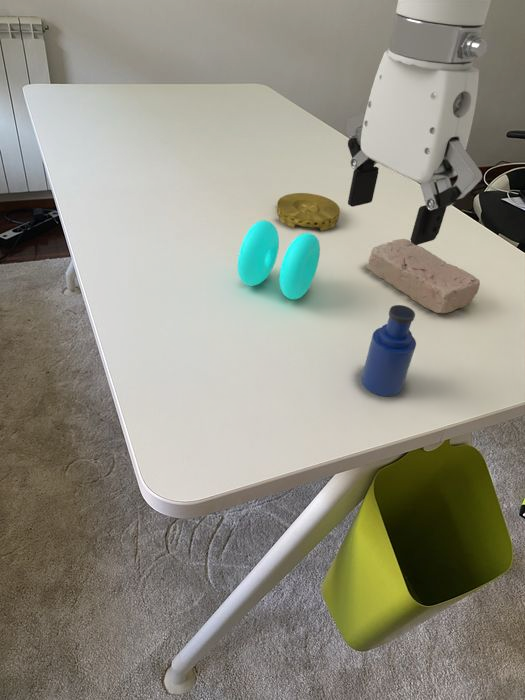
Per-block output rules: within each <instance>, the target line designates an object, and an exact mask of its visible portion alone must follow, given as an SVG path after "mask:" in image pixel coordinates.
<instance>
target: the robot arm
mask: <svg viewBox="0 0 525 700" xmlns="http://www.w3.org/2000/svg"><path fill="white" fill-rule="evenodd" d="M491 2H492V0H397V5H396V9H395V15H394V19H393V24H392V30H391V35H390V39H389V44H388V48H387V50H385V51H384V53H383V54H382V55H383V56H382V58H381V61H380V62H379V66H378V69H377V72H376V74H375V76H374V80H373V84H372V86H371V90H370V94H369V98H368V101H367V102H368V103H367V105H366V108H365V112H362V113H358V114H355V115H353V116H350V117H349V116H348V117H347V119H346V122H345V123H346V131H347V137H348V138H349V139H348V140H347V148H348V150H349V153H350V157H351V159H350V163H349V164H350V167H351V169H352V170H353V172H352V178H351V183H350V188H349V193H348V199H347V205H348V206H349V207H358V206H362V205H366V204H370V203H372V202H373V198H374V195H375V190H376V185H377V181H378V175H379V169H380V168H379V167H378V166H375V165H377V164H379V165H381V166H383V167H385V168H386V169H389V170H391V171H393V172H394V173H397V174H399V175H401V176H403V177H405V178H406V179H409V180H410V181H413V182H416V183H419V185H420V188H421V192H422V196H423V199H424V203H425V205H421V206H419V208H418V209H417V214H416V217H415V221H414V225H413V229H412V232H411V235H410V239H409V241H410V242H411V243H413V244H414V245H418V246H420V245H422V244H425V243H428V242H432V241H435V239H437V236H438V235H439V232H440V230H441V227H442V224H443V220H444V217H445V213H446V211H447V207H450V206H452V205H454V204H455V203H457V202H459V201H460V200H463V199H464V198H466V197H467V196H468V195H469V193H470V192H471V191H472V190H473V189H474V188H475V187H476V186H477V185H478V183H480V182H481V180H482V179H483V173H482V171H481V169H480V168H479V167H478V165H477V164H476V163H475V161H474V159H472V157H471V156H470V154H469V153H468V152H467V147H468V142H469V139H470V135H471V130H472V126H473V120H474V117H475V111H476V104H477V97H478V91H479V79H480V74H479V73H480V69H479V68H477V67H474V66H473V64H474V62H475V58H477V59H481V58H483V57H484V56H485V54H486V53H487V50H488V46H489V43H488V41H487V40H486V39H482V34H483V30H484V28H485V27H484V25H485V23H486V19H487V16H488V12H489V8H490V5H491ZM454 177H457V178H456V181H455V182H454V184H453V185H452V182H451V178H454ZM436 187H437V188H436ZM437 191H438V192H437Z"/></svg>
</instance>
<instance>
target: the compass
mask: <svg viewBox="0 0 525 700" xmlns="http://www.w3.org/2000/svg"><path fill="white" fill-rule="evenodd" d="M276 213H277V215H278V216H279V221H280V222H281V223H282V224H283V225H285V226H287V227H289V228H295V227H296V226H300V227H304V228H305V227H306V228H318V229H319V230H320V232H322V231H327V230H331V229H332V228H334V227H335V226H336V222H338V221H339V217H340V213H341V208H340V206H339V204H338V203H336V202H335V201H334V200H332V199H330V198H329V197H326V196H323V195H319V194H316V193H308V192H295V193H288V194H285V195H283V196H281V197H279V199H278V200H277V203H276Z"/></svg>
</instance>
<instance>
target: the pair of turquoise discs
mask: <svg viewBox="0 0 525 700" xmlns="http://www.w3.org/2000/svg"><path fill="white" fill-rule="evenodd" d="M279 248H280V237H279V232H278V230H277V228H276V226H275V224H273V223H272V222H271V221H269V220H259V221H256V222H255V223H254V224H252V225H251V226H250V228H248V231H246V234H245V236H244V237H243V240H242V243H241V245H240V248H239V252H238V257H237V272H238V276H239V278H240V281H241V282H242V283H244V285H246V286H251V287H254V286H258V285H260V284H262V283H263V282H264V281H266V279H268V277H269V276H270V274H271V272H273V271H272V270H273V269H274V266H275V264H276V262H277V258H278V254H279ZM320 254H321V245H320V241H319V239H318V237H317V236H316V235H315V234H313V233H311V232H304V233H301V234H299V235H297V236H296V237H295V238H294V239H293V240H292V241H291V242H290V244H289V245H288V247H287V249H286V251H285V253H284V256H283V258H282V262H281V265H280V270H279V286H280V287H279V288H280V290H281V292H282V294H283V295H284V296H285V297H286V298H287V299H290V300H299V299H300V298H302V297H303V296H304V295H306V293H307V292H308V291H309V289H310V286H311V285H312V283H313V281H314V278H315V276H316V273H317V269H318V266H319V261H320V256H321V255H320Z"/></svg>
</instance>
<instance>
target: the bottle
mask: <svg viewBox="0 0 525 700" xmlns="http://www.w3.org/2000/svg"><path fill="white" fill-rule="evenodd" d="M415 317H416V313H415V311H414V310H413V309H412V308H411V307H409V306H406V305H402V304H395V305H392V306H391V307H390V308H389V311H388V320H387V323H385V324H383V325H382V326H381V327H378V328H377V329H375V330H374V331H373V333H372V336H371V340H370V344H369V347H368V351H367V355H366V358H365V363H364V367H363V371H362V373H361V383H362V386H363V387H364V388H365V389H366V390H367V391H369V392H370V393H372V394H373V395H376V396H380V397H393V396H396V395H398V394H399V393H400V392H401V391H402V390H403V386H404V383H405V381H406V377H407V374H408V371H409V368H410V365H411V362H412V359H413V356H414V353H415V349H416V346H417V341H416V339H415V337H414V336H413V333H412V331H411V330H410V328H411V325H412V322H413V321H415Z"/></svg>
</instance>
